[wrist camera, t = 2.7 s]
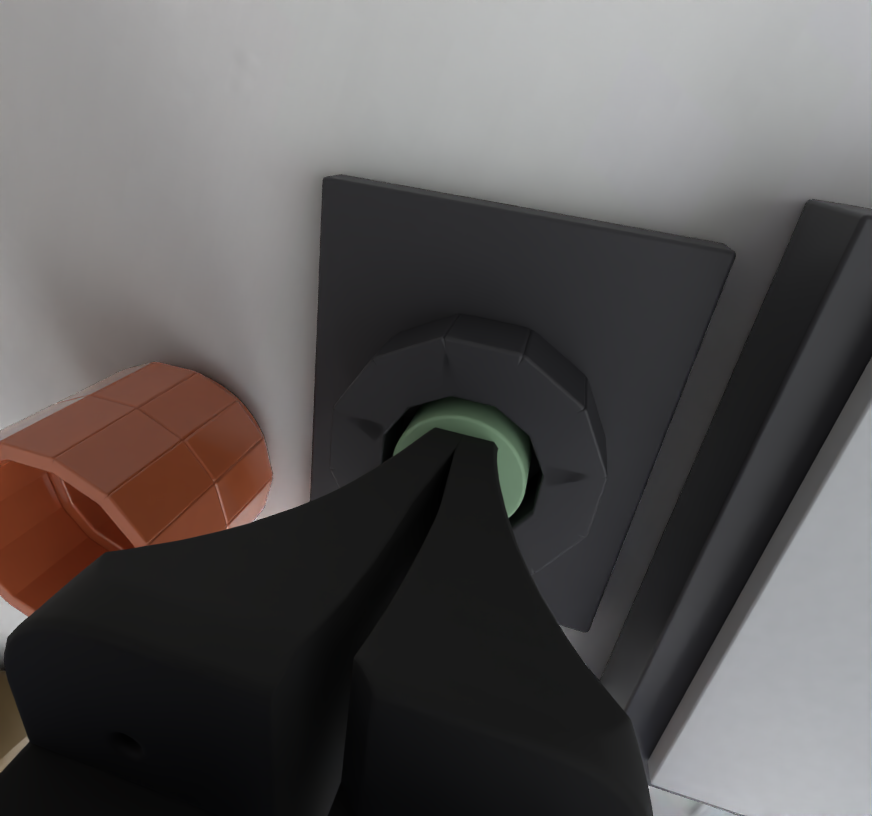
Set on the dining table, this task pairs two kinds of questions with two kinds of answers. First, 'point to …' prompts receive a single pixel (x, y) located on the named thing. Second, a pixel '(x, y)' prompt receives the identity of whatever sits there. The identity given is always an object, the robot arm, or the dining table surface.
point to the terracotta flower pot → (123, 475)
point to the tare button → (480, 425)
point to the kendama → (9, 725)
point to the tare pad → (511, 354)
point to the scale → (771, 560)
